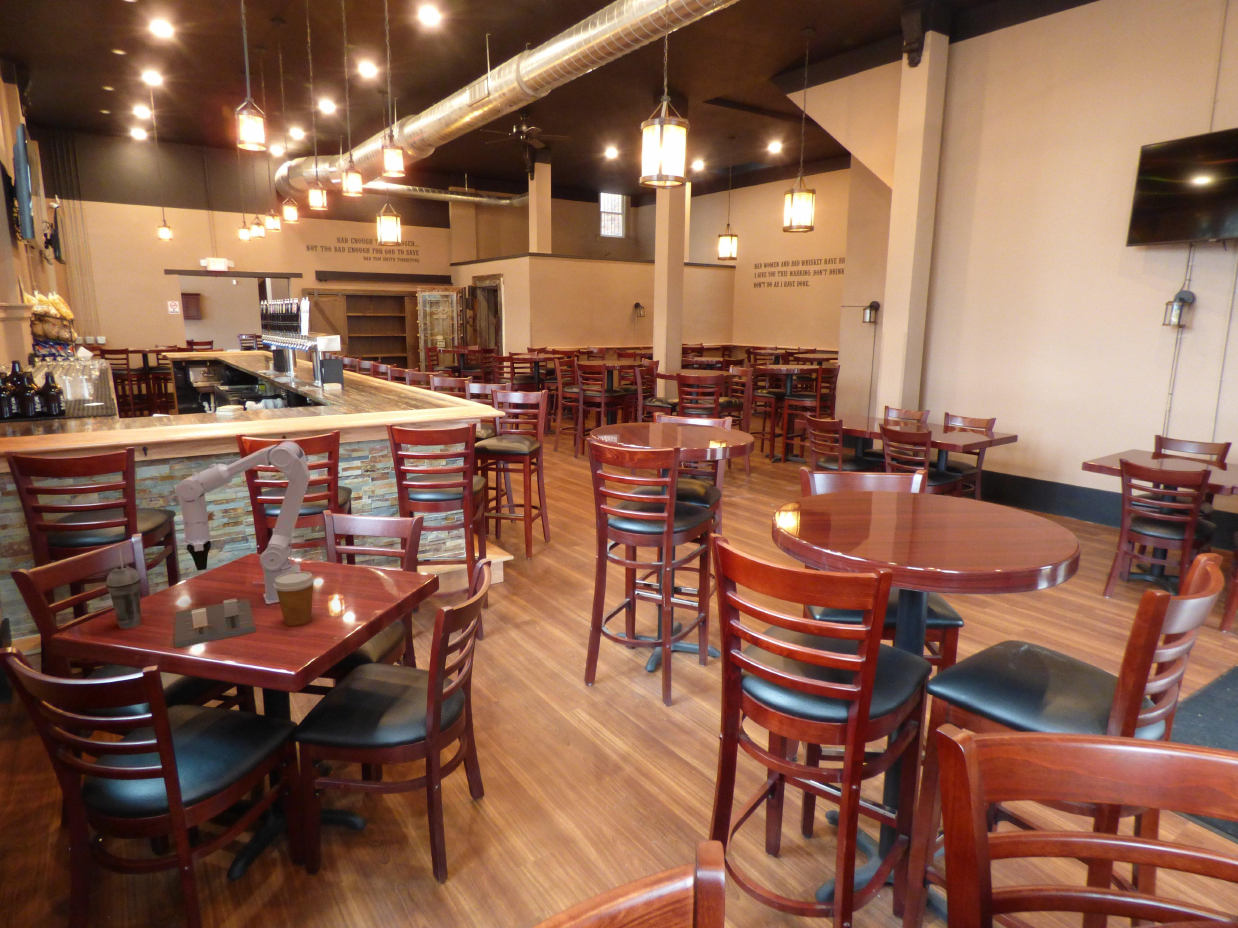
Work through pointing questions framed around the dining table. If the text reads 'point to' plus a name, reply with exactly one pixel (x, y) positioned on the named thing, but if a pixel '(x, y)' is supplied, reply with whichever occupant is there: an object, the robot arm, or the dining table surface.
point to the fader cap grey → (230, 607)
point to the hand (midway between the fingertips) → (201, 569)
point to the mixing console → (213, 624)
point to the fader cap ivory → (199, 617)
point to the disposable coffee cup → (295, 597)
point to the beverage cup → (125, 595)
